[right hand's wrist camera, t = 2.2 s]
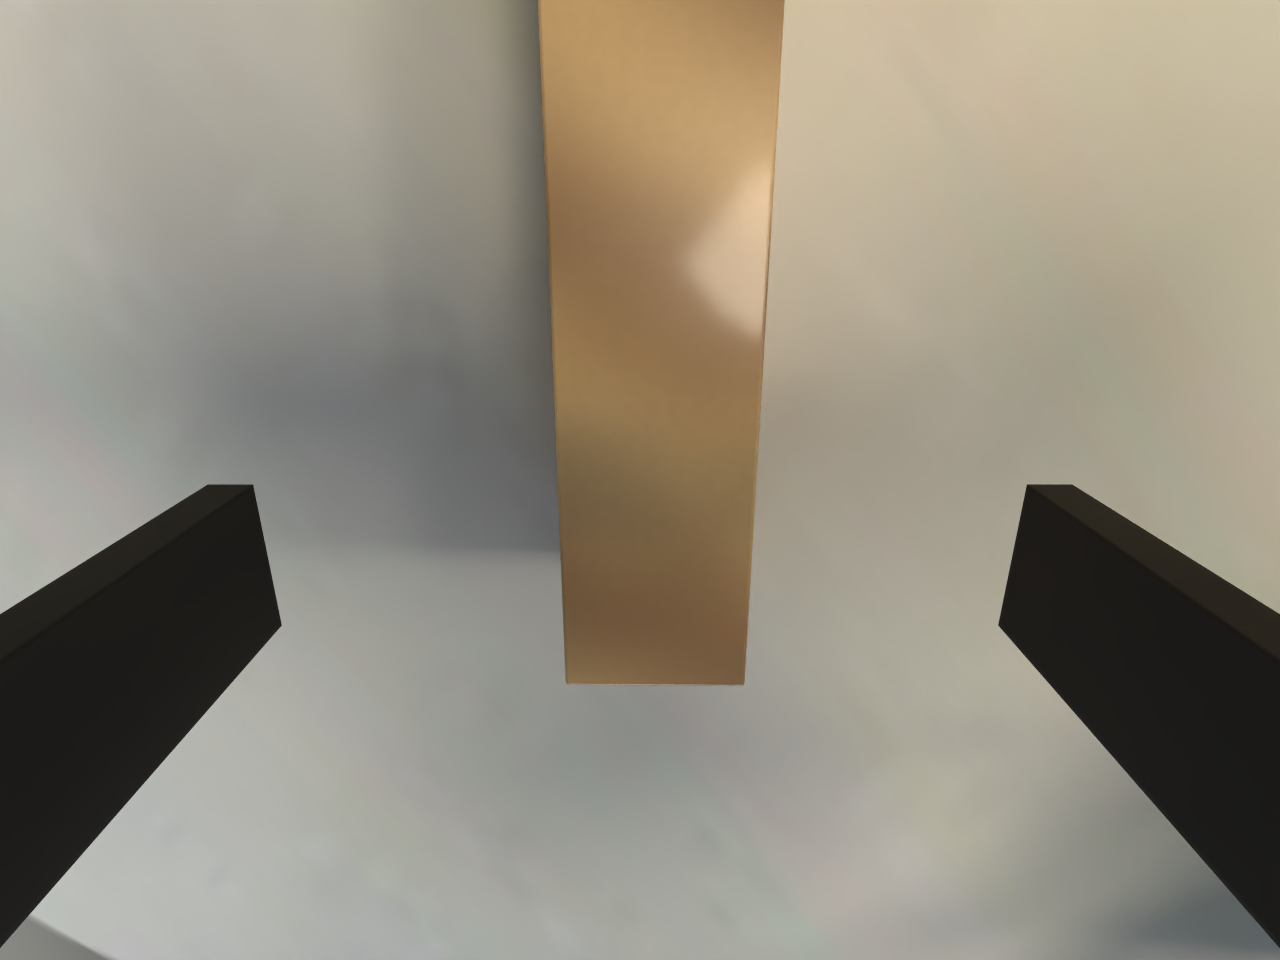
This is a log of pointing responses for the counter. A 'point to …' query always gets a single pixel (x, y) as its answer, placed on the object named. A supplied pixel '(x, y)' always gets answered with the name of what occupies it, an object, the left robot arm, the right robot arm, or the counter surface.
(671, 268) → the post
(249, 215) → the counter surface
